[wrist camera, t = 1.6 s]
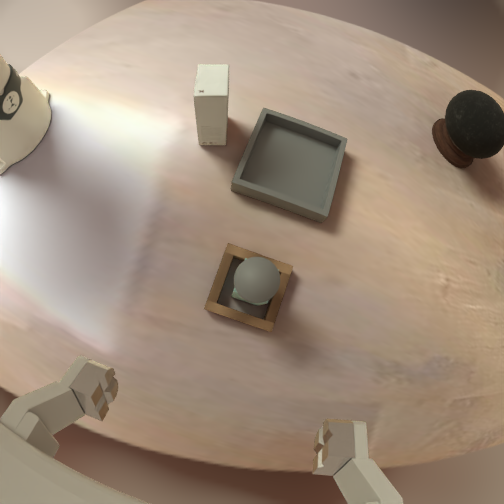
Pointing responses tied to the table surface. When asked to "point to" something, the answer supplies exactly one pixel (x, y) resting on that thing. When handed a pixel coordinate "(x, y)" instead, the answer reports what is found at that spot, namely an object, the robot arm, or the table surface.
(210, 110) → the skincare box
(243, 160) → the charcoal tray
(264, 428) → the table surface
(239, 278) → the pin
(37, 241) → the table surface
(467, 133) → the black ball on stand
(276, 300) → the walnut collar
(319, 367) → the table surface
